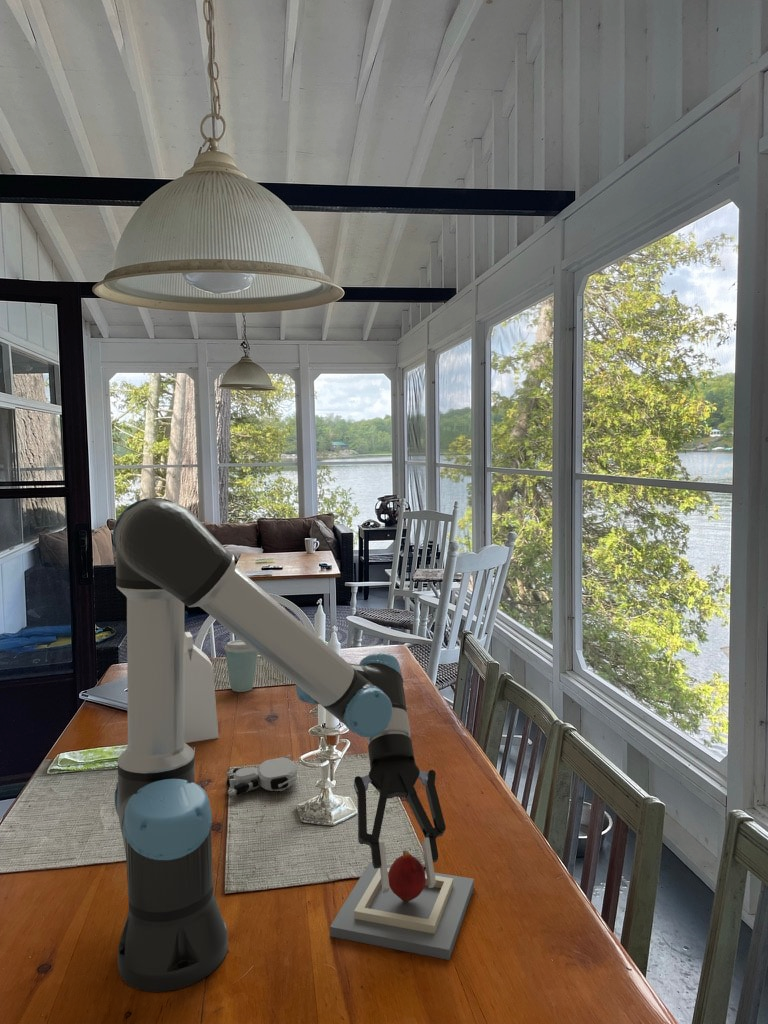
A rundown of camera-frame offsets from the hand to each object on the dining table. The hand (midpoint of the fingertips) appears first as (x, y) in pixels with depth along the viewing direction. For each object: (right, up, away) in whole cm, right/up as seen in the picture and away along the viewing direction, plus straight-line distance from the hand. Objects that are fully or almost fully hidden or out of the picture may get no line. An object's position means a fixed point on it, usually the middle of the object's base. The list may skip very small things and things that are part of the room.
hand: (409, 887), depth 110 cm
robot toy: (-30, -3, +48) cm, 57 cm away
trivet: (0, -6, +4) cm, 7 cm away
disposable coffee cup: (-47, +2, +116) cm, 125 cm away
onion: (0, -4, +4) cm, 6 cm away
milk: (-53, -1, +80) cm, 96 cm away
